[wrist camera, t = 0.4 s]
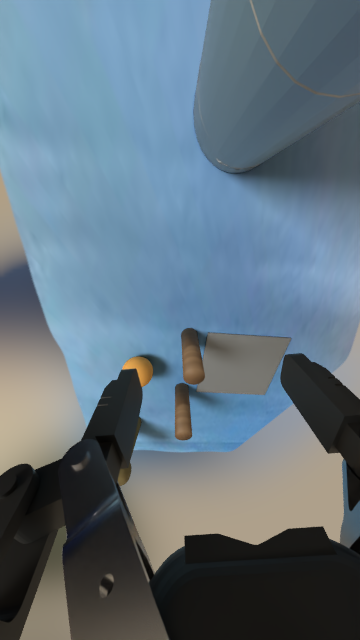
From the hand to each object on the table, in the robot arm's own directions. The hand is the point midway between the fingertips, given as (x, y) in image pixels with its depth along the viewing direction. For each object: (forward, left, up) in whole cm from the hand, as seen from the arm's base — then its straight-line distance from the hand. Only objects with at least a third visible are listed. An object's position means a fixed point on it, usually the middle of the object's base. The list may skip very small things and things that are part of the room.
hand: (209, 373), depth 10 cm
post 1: (+22, +1, -17) cm, 28 cm away
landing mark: (+15, +11, -17) cm, 26 cm away
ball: (+15, -7, -15) cm, 23 cm away
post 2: (+9, +1, -17) cm, 20 cm away
